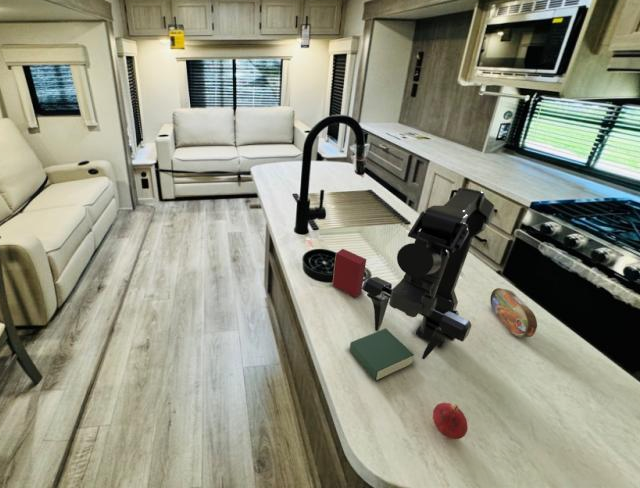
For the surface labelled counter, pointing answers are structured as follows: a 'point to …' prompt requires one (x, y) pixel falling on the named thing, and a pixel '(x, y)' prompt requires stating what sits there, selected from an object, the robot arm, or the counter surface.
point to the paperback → (349, 272)
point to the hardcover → (381, 353)
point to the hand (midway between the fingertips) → (398, 343)
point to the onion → (450, 420)
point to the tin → (513, 313)
